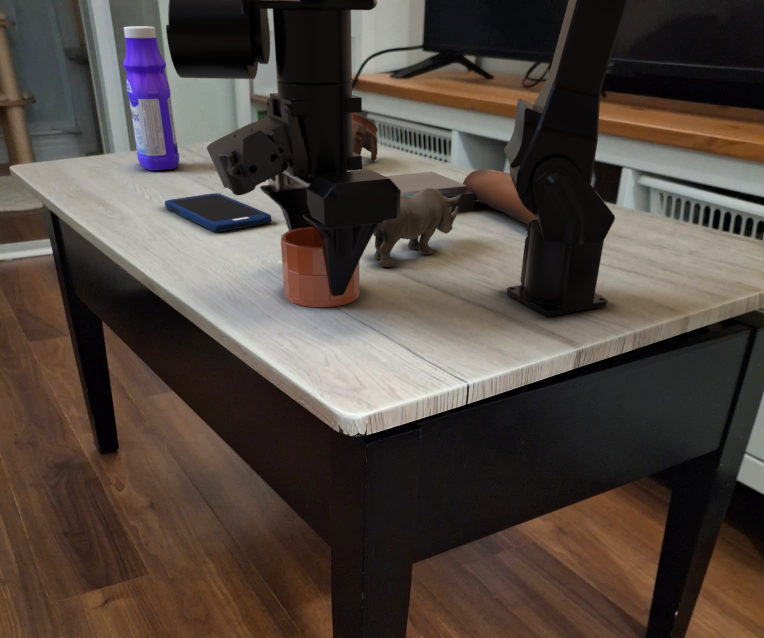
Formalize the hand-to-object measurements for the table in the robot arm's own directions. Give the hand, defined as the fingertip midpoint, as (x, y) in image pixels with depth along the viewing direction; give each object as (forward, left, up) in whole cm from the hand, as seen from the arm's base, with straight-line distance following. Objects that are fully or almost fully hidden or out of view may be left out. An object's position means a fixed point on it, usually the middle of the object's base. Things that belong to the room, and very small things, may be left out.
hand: (321, 282), depth 67 cm
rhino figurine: (+8, -14, -1) cm, 16 cm away
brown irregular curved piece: (+51, -25, -1) cm, 57 cm away
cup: (0, 0, -1) cm, 1 cm away
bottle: (+60, +1, -1) cm, 60 cm away
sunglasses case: (+15, -32, -1) cm, 35 cm away
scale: (+25, -19, -1) cm, 31 cm away
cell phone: (+30, +1, -1) cm, 30 cm away
